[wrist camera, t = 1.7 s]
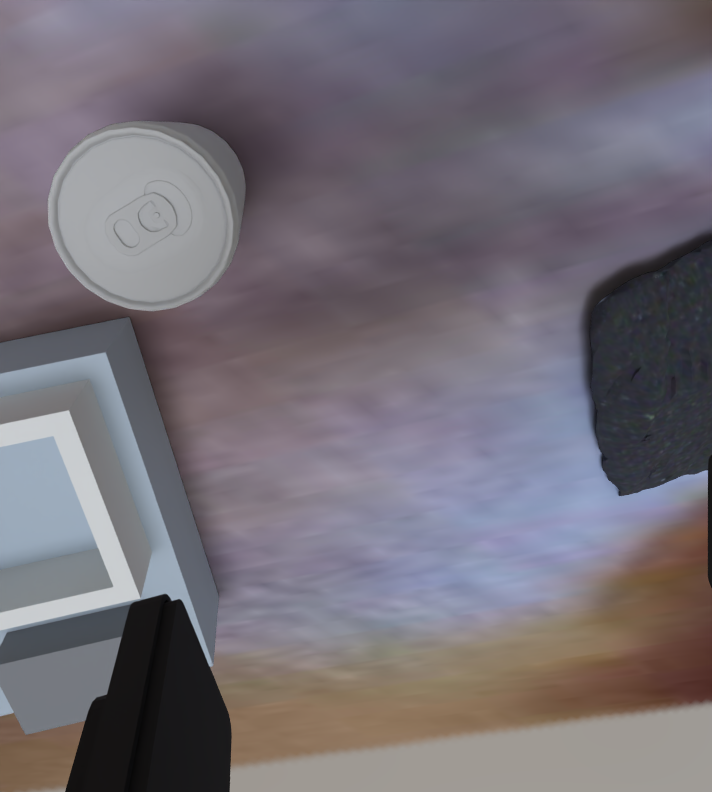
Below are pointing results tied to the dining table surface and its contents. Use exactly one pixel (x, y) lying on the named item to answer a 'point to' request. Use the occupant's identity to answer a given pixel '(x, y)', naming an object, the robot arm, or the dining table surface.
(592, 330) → the dark slate chunk
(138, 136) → the beverage can
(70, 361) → the recessed tray block
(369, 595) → the dining table surface
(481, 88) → the dining table surface
